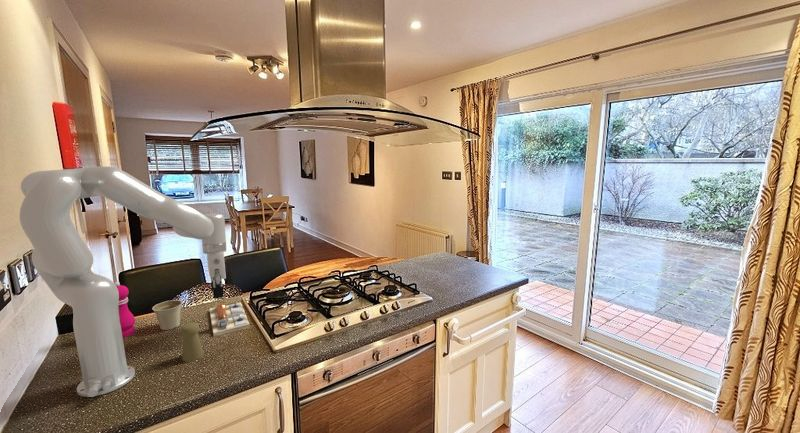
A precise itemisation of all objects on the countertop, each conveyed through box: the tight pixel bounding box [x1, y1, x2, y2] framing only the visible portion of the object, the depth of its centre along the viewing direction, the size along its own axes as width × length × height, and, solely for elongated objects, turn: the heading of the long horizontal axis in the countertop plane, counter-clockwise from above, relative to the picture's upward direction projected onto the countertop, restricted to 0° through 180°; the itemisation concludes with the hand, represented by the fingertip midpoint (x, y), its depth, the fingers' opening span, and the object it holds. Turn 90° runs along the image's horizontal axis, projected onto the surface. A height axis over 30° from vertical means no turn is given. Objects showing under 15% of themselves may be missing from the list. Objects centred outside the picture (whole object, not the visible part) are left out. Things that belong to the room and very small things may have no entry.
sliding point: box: [216, 302, 241, 326], centre depth 128 cm, size 3×8×7 cm, turn 122°
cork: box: [179, 322, 205, 363], centre depth 109 cm, size 6×6×11 cm
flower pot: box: [151, 299, 183, 331], centre depth 129 cm, size 9×9×9 cm
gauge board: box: [209, 301, 251, 337], centre depth 135 cm, size 24×12×4 cm, turn 32°
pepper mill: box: [113, 281, 136, 339], centre depth 122 cm, size 7×7×20 cm
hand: (217, 293), depth 125 cm, fingers open, 9 cm apart
